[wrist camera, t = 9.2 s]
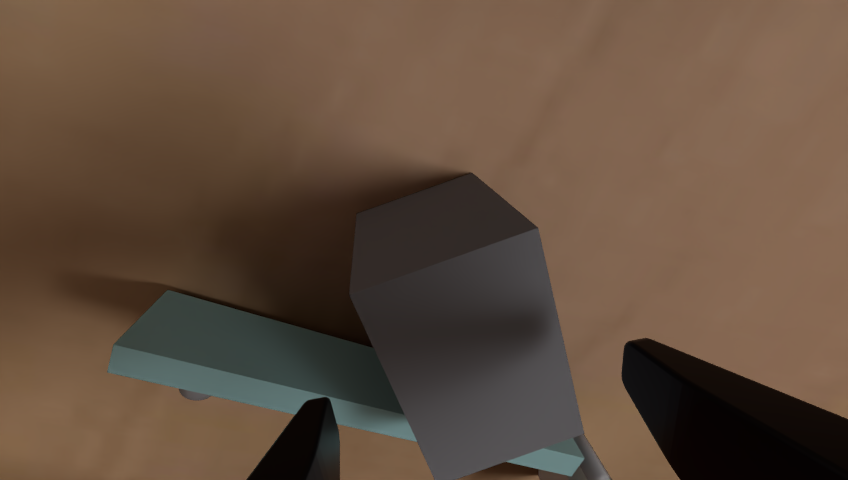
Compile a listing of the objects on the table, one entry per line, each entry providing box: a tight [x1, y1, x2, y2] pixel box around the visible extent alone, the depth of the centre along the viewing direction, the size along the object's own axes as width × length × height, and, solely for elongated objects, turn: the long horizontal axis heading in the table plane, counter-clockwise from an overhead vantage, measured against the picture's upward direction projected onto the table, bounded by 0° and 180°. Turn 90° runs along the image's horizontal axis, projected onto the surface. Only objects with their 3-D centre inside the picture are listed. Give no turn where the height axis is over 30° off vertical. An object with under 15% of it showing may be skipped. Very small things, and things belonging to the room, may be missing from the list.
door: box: [107, 290, 585, 477], centre depth 13 cm, size 15×2×3 cm, turn 66°
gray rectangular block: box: [349, 173, 584, 480], centre depth 12 cm, size 6×4×6 cm, turn 18°
